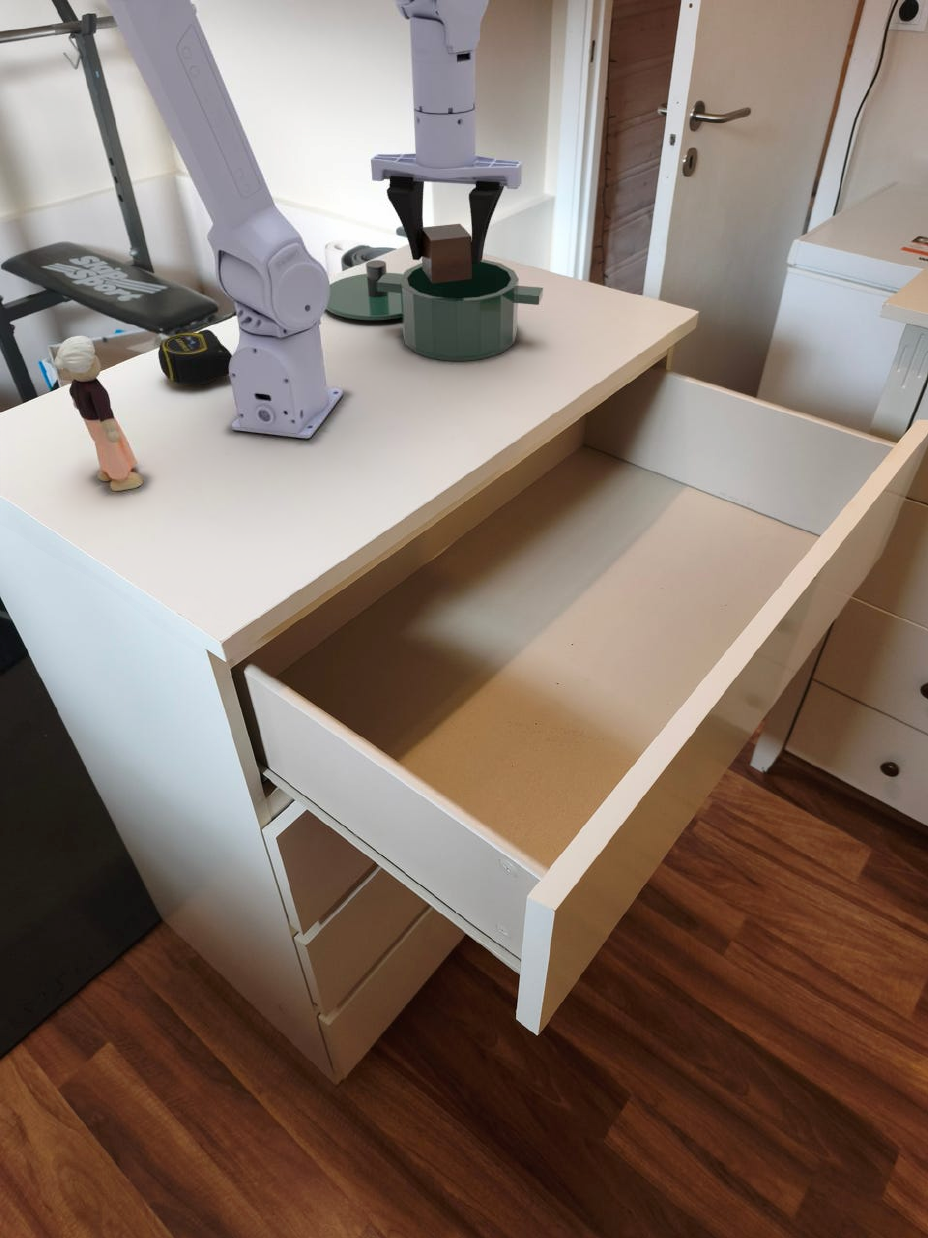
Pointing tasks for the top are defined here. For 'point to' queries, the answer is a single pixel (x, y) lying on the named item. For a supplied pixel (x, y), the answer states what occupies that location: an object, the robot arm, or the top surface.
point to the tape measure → (194, 358)
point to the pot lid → (365, 296)
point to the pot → (460, 311)
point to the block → (446, 253)
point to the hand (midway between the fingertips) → (447, 258)
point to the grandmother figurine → (98, 413)
